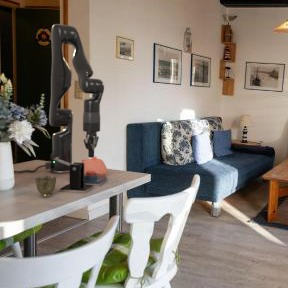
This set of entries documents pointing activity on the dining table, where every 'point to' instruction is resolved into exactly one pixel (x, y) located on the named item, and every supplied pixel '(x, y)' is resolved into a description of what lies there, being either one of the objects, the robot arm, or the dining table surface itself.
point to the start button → (90, 173)
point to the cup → (45, 185)
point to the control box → (94, 179)
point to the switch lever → (60, 161)
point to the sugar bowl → (95, 166)
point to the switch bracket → (76, 178)
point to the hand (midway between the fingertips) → (91, 157)
